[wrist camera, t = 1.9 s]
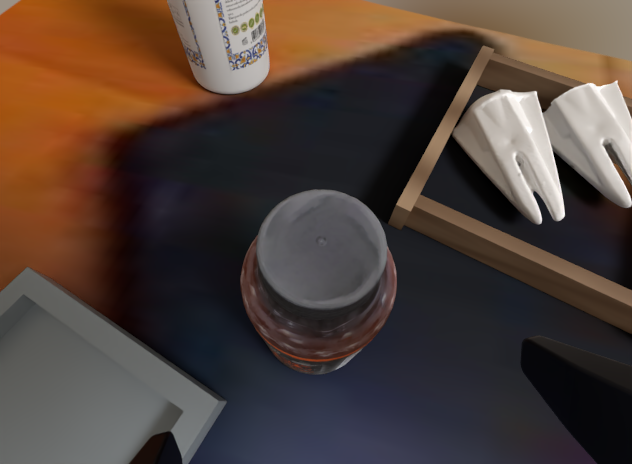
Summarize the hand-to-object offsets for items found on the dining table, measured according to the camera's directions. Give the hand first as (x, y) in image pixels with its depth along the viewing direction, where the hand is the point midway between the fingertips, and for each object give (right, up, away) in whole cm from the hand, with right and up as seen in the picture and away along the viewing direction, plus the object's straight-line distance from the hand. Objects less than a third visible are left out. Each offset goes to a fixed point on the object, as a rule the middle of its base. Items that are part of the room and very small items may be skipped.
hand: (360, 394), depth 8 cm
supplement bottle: (-1, -2, +12) cm, 12 cm away
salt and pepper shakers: (+16, +9, +18) cm, 25 cm away
